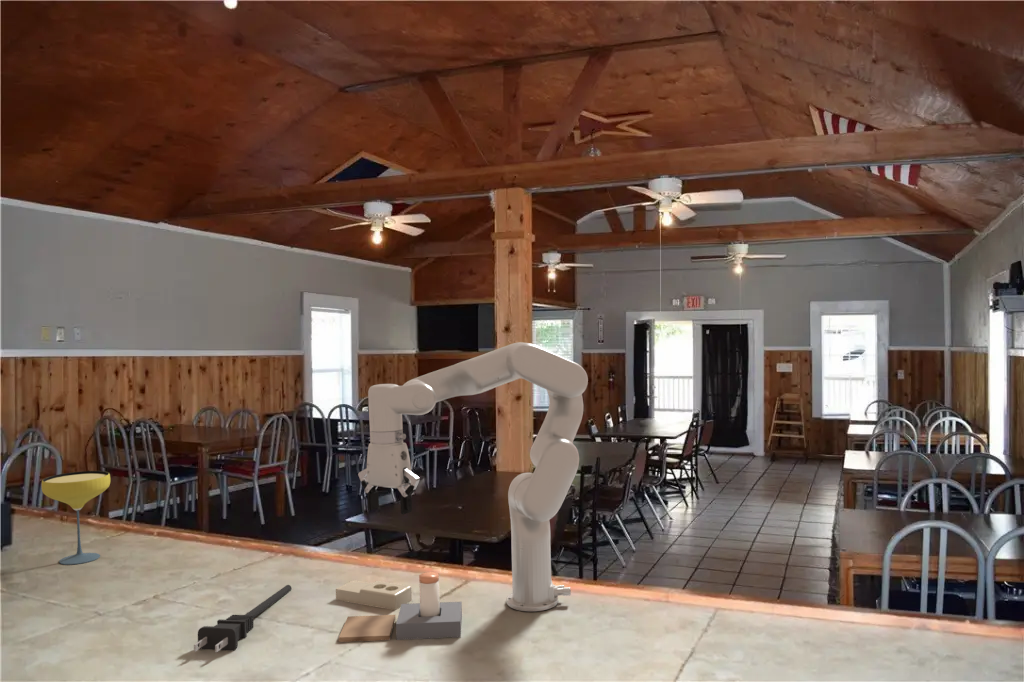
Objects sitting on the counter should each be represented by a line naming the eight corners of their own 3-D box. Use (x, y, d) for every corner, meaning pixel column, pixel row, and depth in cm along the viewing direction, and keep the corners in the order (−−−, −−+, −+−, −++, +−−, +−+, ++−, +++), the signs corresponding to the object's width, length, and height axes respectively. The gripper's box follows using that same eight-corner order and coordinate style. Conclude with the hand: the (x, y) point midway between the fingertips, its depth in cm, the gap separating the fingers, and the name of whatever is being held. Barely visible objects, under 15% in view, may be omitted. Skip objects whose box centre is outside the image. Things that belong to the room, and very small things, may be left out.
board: (395, 618, 184) (395, 614, 184) (389, 640, 172) (389, 635, 172) (348, 620, 184) (347, 616, 184) (338, 642, 172) (338, 637, 172)
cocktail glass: (73, 549, 247) (69, 470, 246) (126, 550, 245) (123, 470, 244) (30, 568, 229) (26, 482, 228) (87, 569, 227) (83, 483, 226)
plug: (440, 623, 181) (439, 571, 180) (439, 631, 176) (438, 578, 176) (421, 624, 181) (419, 572, 180) (419, 631, 176) (418, 578, 176)
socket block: (461, 616, 185) (461, 601, 185) (460, 637, 173) (460, 621, 173) (401, 618, 184) (401, 603, 184) (396, 639, 172) (396, 623, 172)
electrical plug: (185, 659, 165) (185, 635, 165) (272, 597, 206) (272, 578, 206) (224, 660, 164) (224, 636, 164) (304, 598, 205) (303, 578, 205)
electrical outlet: (353, 576, 204) (411, 585, 196) (353, 591, 204) (412, 601, 196) (335, 585, 198) (395, 595, 190) (336, 601, 198) (395, 611, 190)
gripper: (426, 436, 181) (429, 510, 182) (368, 433, 190) (371, 503, 190) (406, 442, 175) (409, 518, 175) (347, 438, 183) (350, 511, 184)
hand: (389, 510), depth 183 cm, fingers open, 9 cm apart
